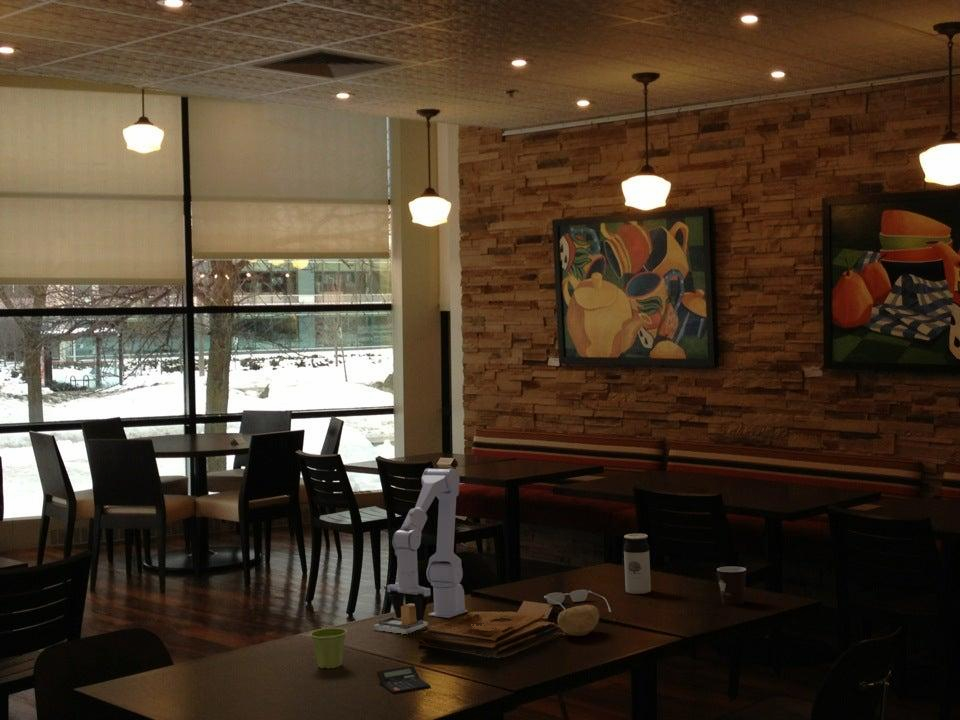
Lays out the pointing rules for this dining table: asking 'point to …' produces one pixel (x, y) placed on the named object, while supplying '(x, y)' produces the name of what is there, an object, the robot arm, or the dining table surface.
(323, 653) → the plant pot
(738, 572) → the coffee mug
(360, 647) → the dining table surface
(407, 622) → the tan upright block
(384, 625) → the console plate
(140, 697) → the dining table surface
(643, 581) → the travel mug
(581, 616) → the potato
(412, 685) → the calculator
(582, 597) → the eyeglasses
